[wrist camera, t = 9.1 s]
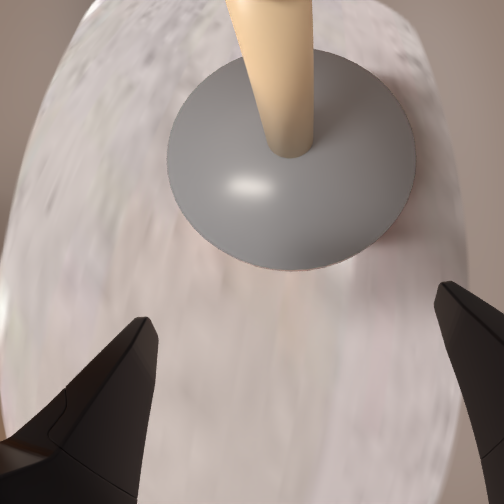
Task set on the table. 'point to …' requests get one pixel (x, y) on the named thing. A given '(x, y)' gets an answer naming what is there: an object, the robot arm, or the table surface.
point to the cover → (289, 147)
